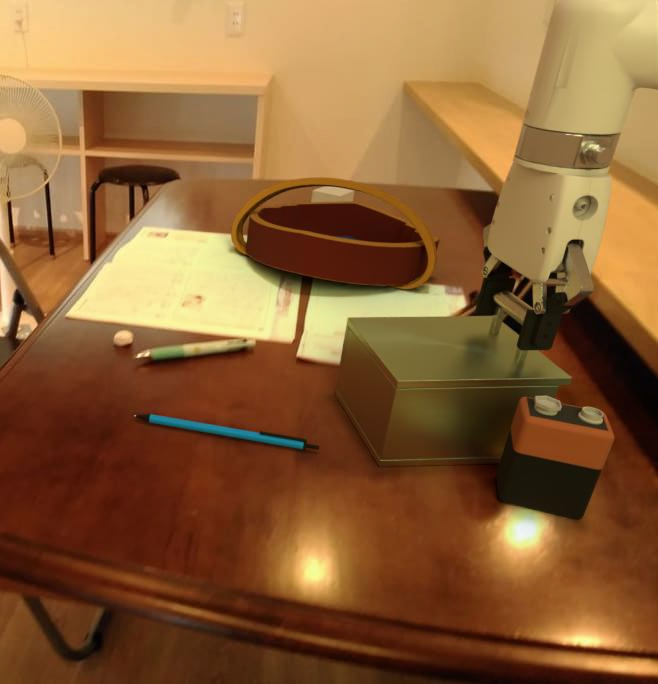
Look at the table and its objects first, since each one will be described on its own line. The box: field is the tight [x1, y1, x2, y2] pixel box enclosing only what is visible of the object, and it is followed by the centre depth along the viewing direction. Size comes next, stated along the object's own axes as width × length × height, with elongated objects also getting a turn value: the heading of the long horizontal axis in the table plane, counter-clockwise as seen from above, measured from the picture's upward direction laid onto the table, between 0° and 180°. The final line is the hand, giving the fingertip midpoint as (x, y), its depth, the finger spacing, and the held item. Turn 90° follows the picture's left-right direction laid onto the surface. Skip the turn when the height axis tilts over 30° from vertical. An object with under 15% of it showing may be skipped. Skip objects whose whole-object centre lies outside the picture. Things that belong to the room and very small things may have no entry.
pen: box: [133, 413, 320, 451], centre depth 70 cm, size 1×19×1 cm, turn 74°
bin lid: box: [346, 289, 573, 388], centre depth 68 cm, size 17×14×6 cm
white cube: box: [310, 186, 355, 202], centre depth 138 cm, size 6×6×6 cm
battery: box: [495, 396, 615, 520], centre depth 60 cm, size 4×7×10 cm, turn 69°
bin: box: [334, 324, 560, 468], centre depth 71 cm, size 16×14×9 cm
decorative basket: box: [230, 176, 440, 290], centre depth 112 cm, size 34×29×15 cm
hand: (511, 329), depth 68 cm, fingers open, 7 cm apart
